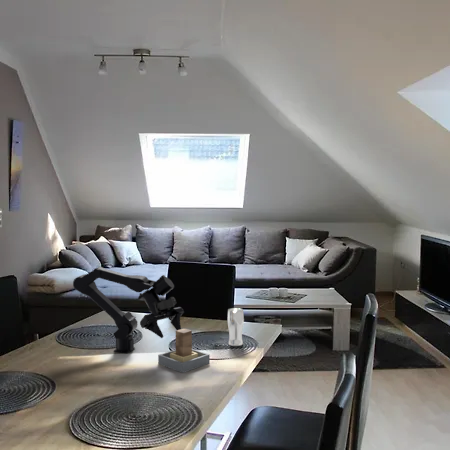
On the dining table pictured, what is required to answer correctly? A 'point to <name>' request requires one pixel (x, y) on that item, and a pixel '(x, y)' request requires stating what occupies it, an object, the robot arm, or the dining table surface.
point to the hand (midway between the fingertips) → (171, 335)
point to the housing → (183, 360)
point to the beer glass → (235, 326)
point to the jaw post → (183, 342)
